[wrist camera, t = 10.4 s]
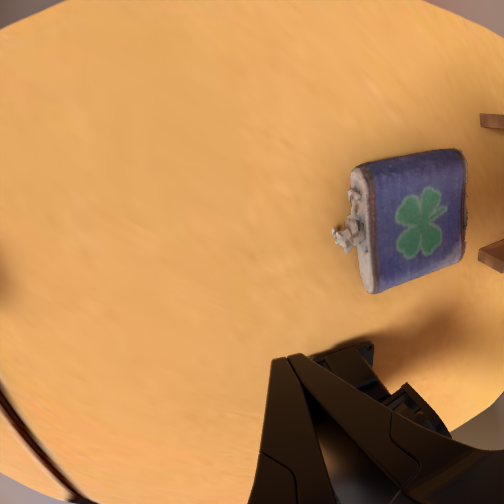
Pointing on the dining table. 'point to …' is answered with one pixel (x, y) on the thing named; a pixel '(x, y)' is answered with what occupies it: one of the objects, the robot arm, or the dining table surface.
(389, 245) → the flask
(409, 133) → the dining table surface
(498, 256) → the walnut u-shaped fence
